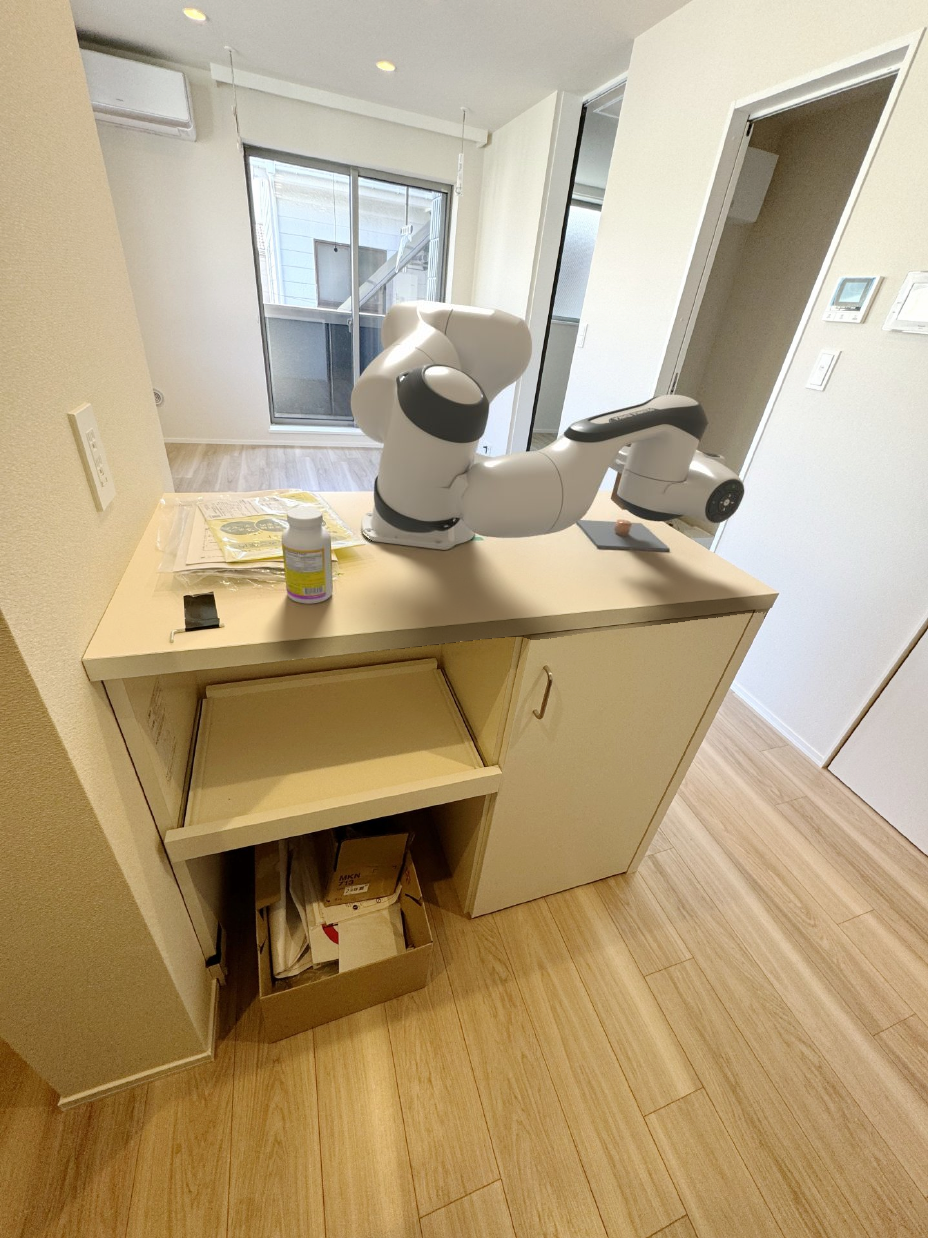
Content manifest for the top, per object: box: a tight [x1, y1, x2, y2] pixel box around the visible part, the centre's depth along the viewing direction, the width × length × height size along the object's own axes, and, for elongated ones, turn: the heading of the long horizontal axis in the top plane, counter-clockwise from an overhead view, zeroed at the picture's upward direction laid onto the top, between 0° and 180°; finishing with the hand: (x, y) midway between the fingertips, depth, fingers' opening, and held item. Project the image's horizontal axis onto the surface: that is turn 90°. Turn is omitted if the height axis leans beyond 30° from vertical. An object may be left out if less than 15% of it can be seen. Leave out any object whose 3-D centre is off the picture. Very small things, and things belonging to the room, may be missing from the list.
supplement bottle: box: [280, 506, 334, 605], centre depth 72 cm, size 7×7×13 cm
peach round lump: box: [614, 518, 633, 536], centre depth 110 cm, size 3×3×3 cm
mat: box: [576, 519, 671, 552], centre depth 110 cm, size 16×14×1 cm
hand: (643, 451), depth 102 cm, fingers closed on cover, 6 cm apart
